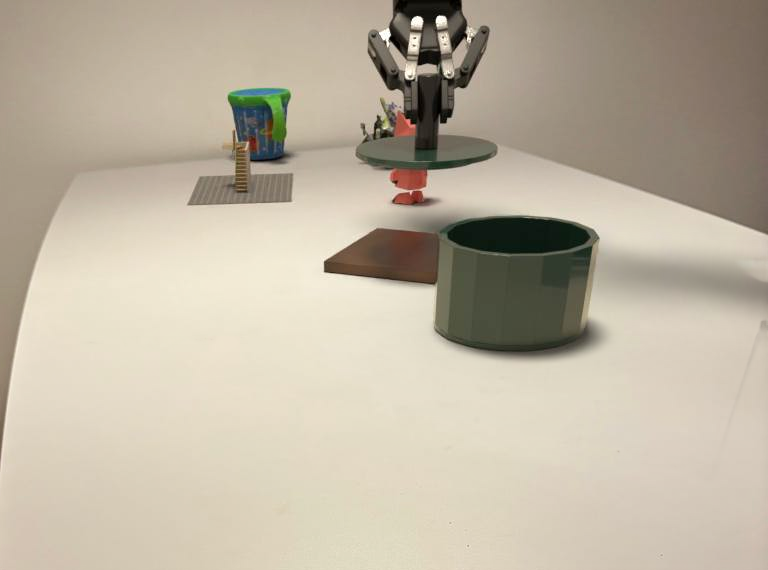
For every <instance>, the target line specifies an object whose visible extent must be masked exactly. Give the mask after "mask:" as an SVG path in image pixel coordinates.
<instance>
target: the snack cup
mask: <svg viewBox="0 0 768 570" xmlns="http://www.w3.org/2000/svg"><path fill="white" fill-rule="evenodd" d="M291 97H292V93H291V91H290V89H288V88H283V87H253V88H252V87H251V88H244V89H237V90H233V91H229V93H228V94H227V101H228V103H229V106H230V107H231V110H232V115H233V117H232V118H233V123H234V128H235V133H236V139H237V142H249V151H250V161H252V160H253V161H258V160H259V161H263V160H273V159H277V158H279V157H281V156H283V155H284V151H285V140H286V138H287V133H288V131H287V119H288V106H289V102H290V100H291Z"/></svg>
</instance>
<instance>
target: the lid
mask: <svg viewBox="0 0 768 570" xmlns="http://www.w3.org/2000/svg"><path fill="white" fill-rule="evenodd" d="M441 80H442V74H439V73H437V72H426V73H425V72H423V73H419V74H417V75H416V81H418V117H417V124H415V135H407V136H396V137H389V136H388V138H381V139H376V140H372V141H368V142H365V143H363V144H361V143H360V144H361V145H360V144H359V145H357V146H356V147H355V157H356V158H357V159H358V160H360V161H363V162H365V163H367V164H373V165H378V166H381V167H383V168H388V169H389V168H390V169H395V170H396V169H404V170H427V171H436V170H438V171H439V170H440V171H441V170H448V169H449V170H450V169H456V168H462V167H467V166H470V165H473V164H477V163H482V162H485V161H486V162H487V161H488V160H491V159H492V158H494V157H496V156H497V154H498V145H497V144H496V143H495V142H493V141H490V140H487V139H484V138H480V137H473V136H467V135H456V134H440V133H439V132H440V98H441Z"/></svg>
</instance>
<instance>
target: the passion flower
mask: <svg viewBox="0 0 768 570" xmlns="http://www.w3.org/2000/svg"><path fill="white" fill-rule="evenodd" d="M379 101H380V105H381V107H382V109H383V112H384V113H385V117H384V119H383V120H382V115H381V114H380V115H379V114H376V120H375V121H374V123H373V133H370V134H369V132H367V131H366V123H364V122H360V123H359V128H360V129H361V130H362V135H363V136H365V138H364V139H363V140H362V141H361V143H359V145H361V144H363V143H365V142H368V141H372V140H376V139H381V138H388V137H394V130H395V126H396V119H397V112H398V110H399V111H400V112H401V114H402V115H403V116H404V106H403V107H402V105H400V106H398V105H397V104H395V102H394V101H391V103H386V101H385V98H384V97H382V96H381V97H380V98H379Z"/></svg>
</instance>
